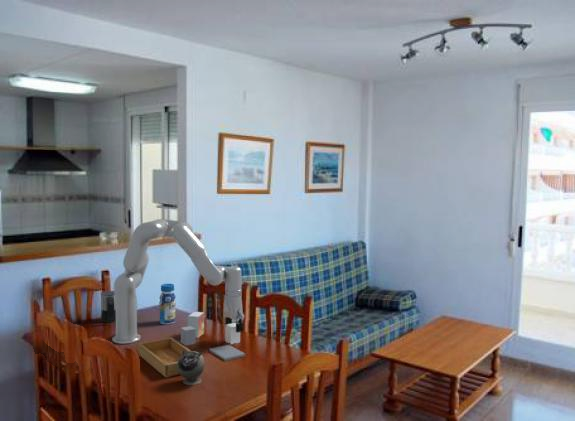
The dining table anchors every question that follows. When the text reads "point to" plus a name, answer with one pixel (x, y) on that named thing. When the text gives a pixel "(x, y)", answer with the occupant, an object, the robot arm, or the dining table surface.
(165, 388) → the dining table surface
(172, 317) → the beverage bottle
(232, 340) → the label box
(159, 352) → the tray
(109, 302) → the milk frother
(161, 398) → the dining table surface
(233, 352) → the grey mat
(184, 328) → the grey block
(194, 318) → the small box
